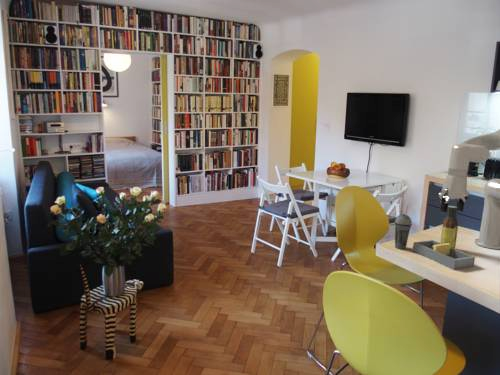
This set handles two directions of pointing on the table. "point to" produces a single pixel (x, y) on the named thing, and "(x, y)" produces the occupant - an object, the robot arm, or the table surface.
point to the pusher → (442, 248)
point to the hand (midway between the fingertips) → (451, 210)
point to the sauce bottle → (450, 227)
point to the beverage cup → (402, 230)
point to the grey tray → (452, 260)
